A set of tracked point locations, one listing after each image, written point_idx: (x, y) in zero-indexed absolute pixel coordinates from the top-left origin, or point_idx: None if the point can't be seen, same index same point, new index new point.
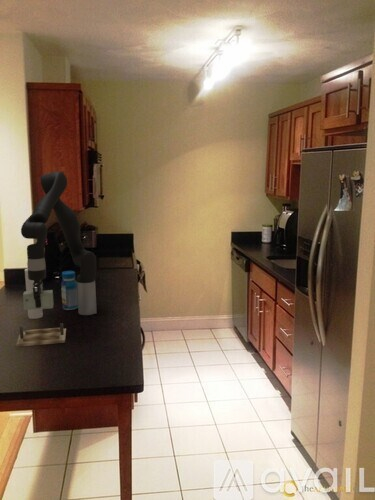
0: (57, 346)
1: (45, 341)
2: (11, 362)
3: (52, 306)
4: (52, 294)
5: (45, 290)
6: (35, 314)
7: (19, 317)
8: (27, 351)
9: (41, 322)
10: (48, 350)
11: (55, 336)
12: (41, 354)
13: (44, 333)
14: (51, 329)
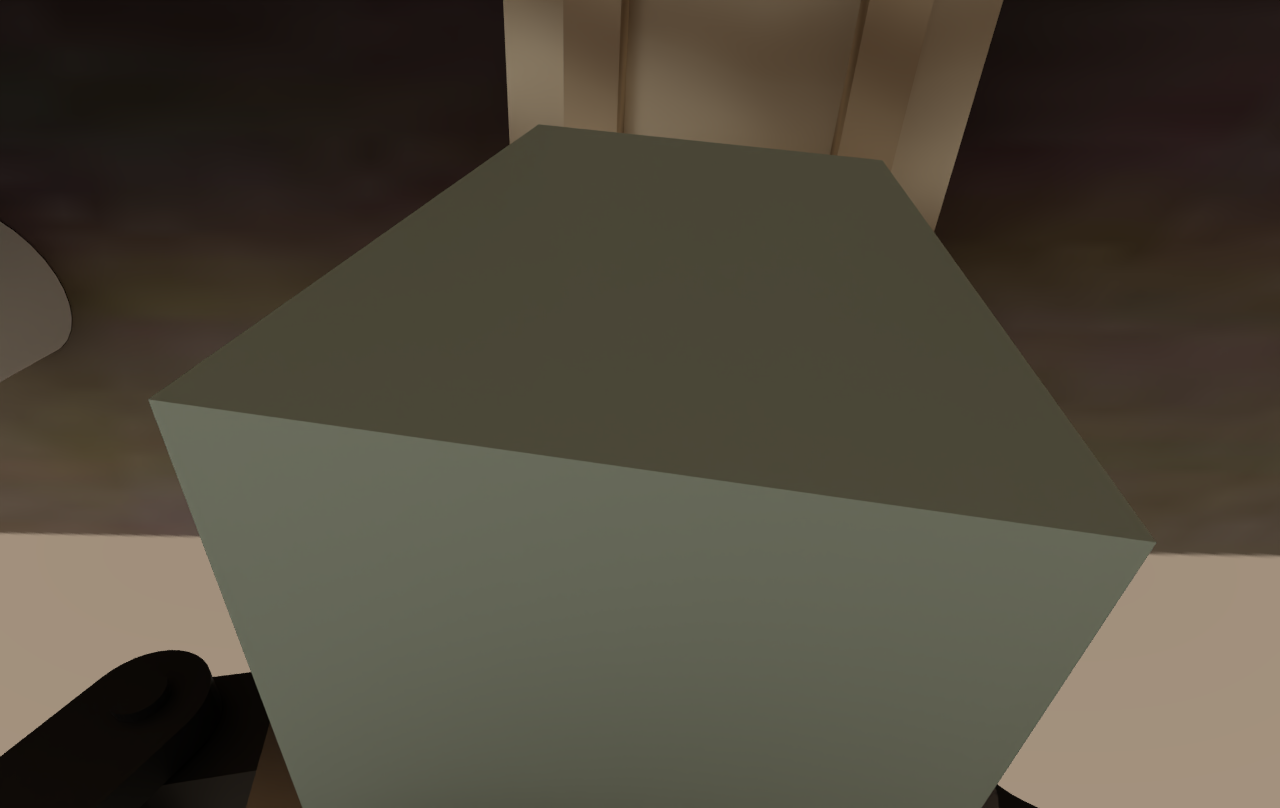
0: (1119, 5)
1: (940, 188)
2: (1245, 508)
3: (895, 179)
4: (612, 318)
5: (291, 765)
6: (12, 304)
7: (55, 429)
8: (1048, 377)
9: (169, 220)
10: (1186, 143)
11: (920, 38)
12: (1261, 234)
13: None
14: (616, 103)
